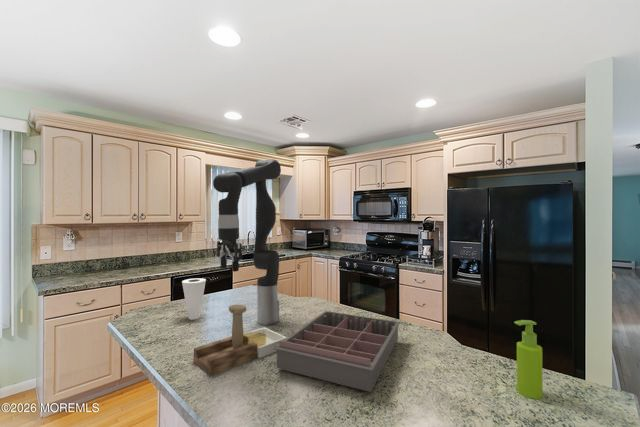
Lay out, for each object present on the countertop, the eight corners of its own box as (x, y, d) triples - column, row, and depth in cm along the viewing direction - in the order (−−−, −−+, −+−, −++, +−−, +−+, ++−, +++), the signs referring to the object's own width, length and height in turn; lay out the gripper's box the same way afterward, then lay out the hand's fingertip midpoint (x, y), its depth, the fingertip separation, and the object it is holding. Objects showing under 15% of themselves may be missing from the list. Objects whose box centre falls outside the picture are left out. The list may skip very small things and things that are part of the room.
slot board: (238, 345, 114) (238, 333, 114) (257, 357, 105) (257, 344, 105) (193, 361, 102) (193, 348, 102) (210, 375, 93) (210, 361, 93)
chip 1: (250, 342, 113) (251, 331, 113) (257, 345, 110) (257, 334, 110) (241, 345, 110) (241, 334, 110) (247, 348, 107) (248, 337, 107)
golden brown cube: (259, 342, 116) (259, 332, 116) (265, 345, 113) (266, 334, 113) (250, 345, 113) (250, 334, 113) (256, 348, 110) (257, 337, 110)
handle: (238, 354, 103) (238, 310, 103) (226, 349, 107) (225, 307, 107) (249, 348, 107) (249, 306, 107) (236, 344, 111) (236, 303, 111)
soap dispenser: (508, 387, 87) (508, 317, 87) (531, 386, 87) (530, 317, 87) (523, 399, 81) (523, 325, 81) (548, 398, 82) (547, 324, 82)
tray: (264, 335, 124) (264, 327, 124) (287, 346, 114) (287, 337, 114) (236, 345, 115) (236, 335, 115) (259, 358, 105) (259, 348, 105)
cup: (210, 316, 147) (210, 279, 147) (190, 323, 138) (190, 284, 138) (196, 313, 152) (196, 277, 152) (177, 319, 143) (177, 281, 143)
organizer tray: (400, 342, 118) (400, 316, 118) (372, 399, 82) (372, 362, 82) (325, 329, 131) (325, 306, 131) (273, 373, 95) (273, 341, 95)
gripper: (247, 226, 111) (248, 270, 112) (228, 225, 121) (228, 265, 121) (229, 228, 106) (230, 274, 106) (210, 226, 116) (210, 268, 116)
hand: (229, 269), depth 114 cm, fingers open, 8 cm apart
